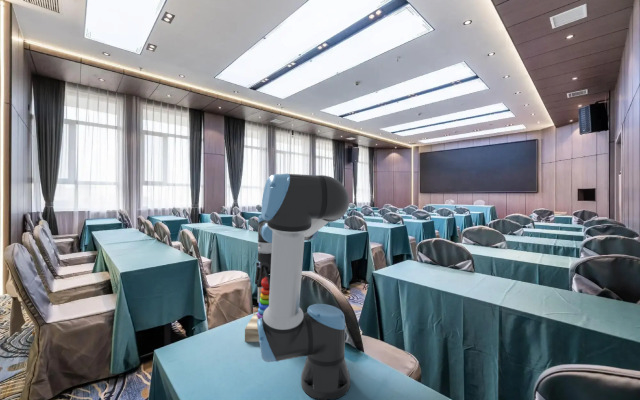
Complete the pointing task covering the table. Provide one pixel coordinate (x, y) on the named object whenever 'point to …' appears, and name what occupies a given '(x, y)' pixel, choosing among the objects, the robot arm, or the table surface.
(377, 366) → the table surface
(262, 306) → the stacking toy
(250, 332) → the plinth
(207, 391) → the table surface
